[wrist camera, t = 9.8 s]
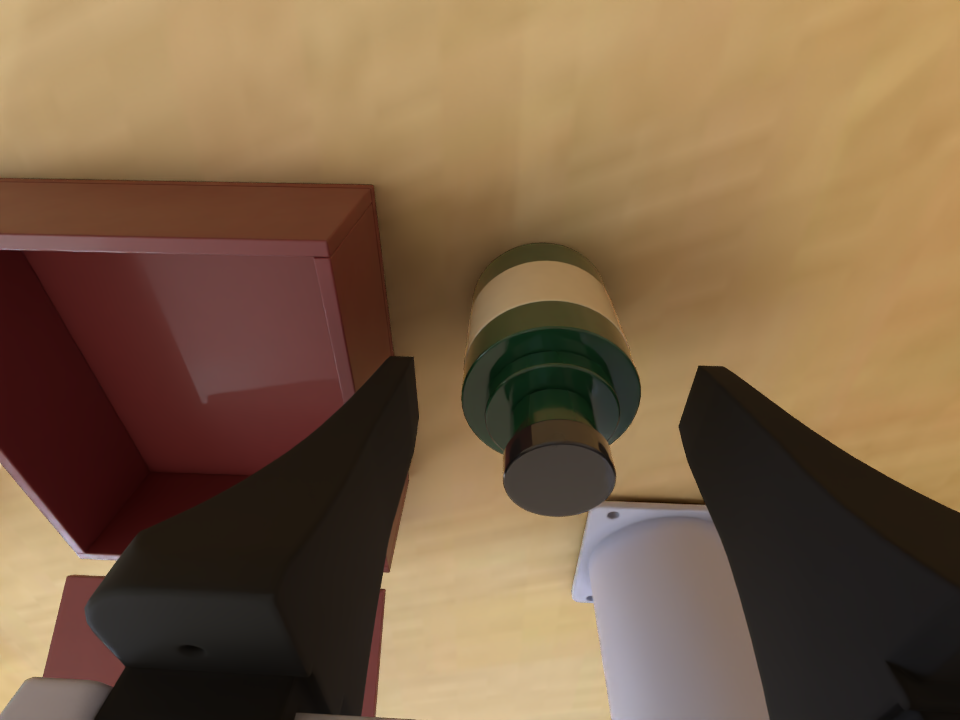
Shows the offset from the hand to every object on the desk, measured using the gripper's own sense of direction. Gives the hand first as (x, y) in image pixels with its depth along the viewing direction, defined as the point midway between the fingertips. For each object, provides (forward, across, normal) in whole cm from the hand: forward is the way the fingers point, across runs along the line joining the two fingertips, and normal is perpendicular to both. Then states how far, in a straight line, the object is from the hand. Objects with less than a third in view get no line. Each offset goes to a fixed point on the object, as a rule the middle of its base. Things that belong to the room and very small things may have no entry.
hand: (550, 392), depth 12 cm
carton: (+4, +11, +2) cm, 12 cm away
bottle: (+4, 0, 0) cm, 4 cm away
